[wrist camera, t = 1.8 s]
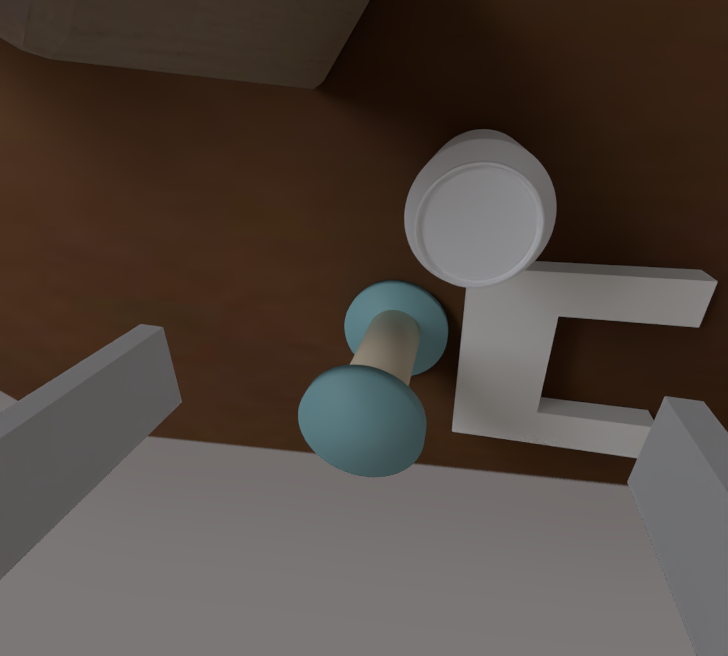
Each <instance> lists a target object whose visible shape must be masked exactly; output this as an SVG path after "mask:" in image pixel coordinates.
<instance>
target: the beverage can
mask: <svg viewBox="0 0 728 656" xmlns="http://www.w3.org/2000/svg"><path fill="white" fill-rule="evenodd" d="M555 219H556V196H555V191H554V187H553V184H552V181H551V179H550V177H549V175H548V173H547V171H546V170H545V168H544V167H543V166H542V164H541V163H540V162H539V161H538V160H537V159H536V158H535V157H534V156H533V155H532V154H531V153H530V152H528V151H527V150H526V149H525V148H524V147H522V146H521V145H520V144H519V143H518V142H516V141H515V140H514V139H512V138H511V137H509V136H508V135H506V134H504V133H501V132H499V131H495V130H489V129H477V130H471V131H468V132H465V133H462V134H460V135H458V136H456V137H454V138H453V139H451V140H450V141H449V142H447V143H446V144H445V145H444V146H443V147H442V148H441V149H440V150H439V151H438V152H437V153H436V154H435V155H434V156H433V158H432V159H431V160H430V161H429V162H428V163H427V164H426V165H425V166H424V168H423V169H422V170H421V171H420V173H419V174H418V176H417V177H416V179H415V180H414V182H413V184H412V186H411V189H410V191H409V194H408V197H407V201H406V205H405V213H404V223H405V231H406V236H407V239H408V242H409V245H410V247H411V249H412V251H413V253H414V255H415V256H416V258H417V259H418V260H419V262H420V263H421V264H422V265H423V266H424V267H425V268H426V269H427V270H428V271H430V272H431V273H432V274H434V275H435V276H437V277H438V278H440V279H442V280H444V281H446V282H449V283H451V284H454V285H457V286H461V287H467V288H483V287H489V286H493V285H497V284H500V283H502V282H504V281H506V280H509V279H511V278H513V277H515V276H516V275H518V274H520V273H521V272H522V271H524V270H525V269H526V268H528V267H529V266H530V265H531V264H532V263H533V262H534V261H535V260H536V259H537V258H538V256H539V255H540V254H541V253H542V251H543V250H544V248H545V246H546V245H547V243H548V241H549V239H550V237H551V234H552V231H553V228H554V224H555Z"/></svg>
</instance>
